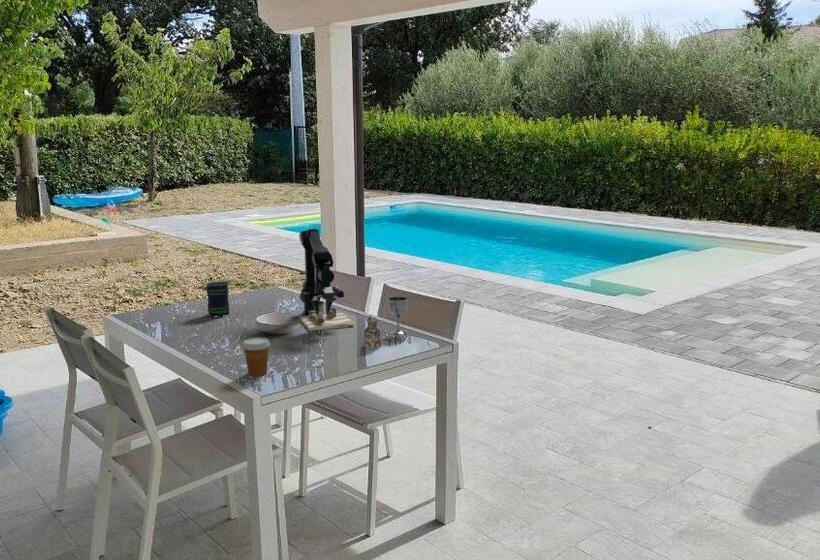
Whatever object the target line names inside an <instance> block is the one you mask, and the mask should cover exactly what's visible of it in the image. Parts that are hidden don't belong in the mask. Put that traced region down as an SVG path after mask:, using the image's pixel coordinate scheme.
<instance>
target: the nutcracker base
mask: <svg viewBox="0 0 820 560" xmlns="http://www.w3.org/2000/svg"><path fill="white" fill-rule="evenodd" d="M299 319H301V320H300V322H301V323H302V324H303V325H304V326H305V328H306V329H307V331H321V330H329V329H330V330H331V329H340V328H341V329H342V328H350V327H349V326H354V327H355V323H354V322H353V320H351V319H350V318H349V317H348V316H347V315H345V313H344V312H341V313H337V308H336V306H331V307H330V310H329V313H328V314H327V313H326V312H325V314H323V319H324V323H320V324H319V323H318V322H316V321H315V320H314V319H313V318H309V315H305V316H300V317H299Z"/></svg>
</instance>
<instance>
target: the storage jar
mask: <svg viewBox="0 0 820 560" xmlns="http://www.w3.org/2000/svg"><path fill="white" fill-rule="evenodd" d="M228 284H229V283H228V282H227V281H213V282H208V283H206V296H207V302H208V303H207V313H208V314H209V315H210V316H223V315H228V314H229V315H230V303H229V285H228ZM209 315H208V316H209ZM229 315H228V316H229Z"/></svg>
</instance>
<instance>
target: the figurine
mask: <svg viewBox="0 0 820 560" xmlns="http://www.w3.org/2000/svg"><path fill="white" fill-rule="evenodd" d="M362 346H363V347H364V348H366V347H367V348H366V349H378V348H381V347H382V339H381V330H380V328H378V319H376V317H375V316H372V315H368V319H367V327H366V328H365V329H364V332H363V342H362Z"/></svg>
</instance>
